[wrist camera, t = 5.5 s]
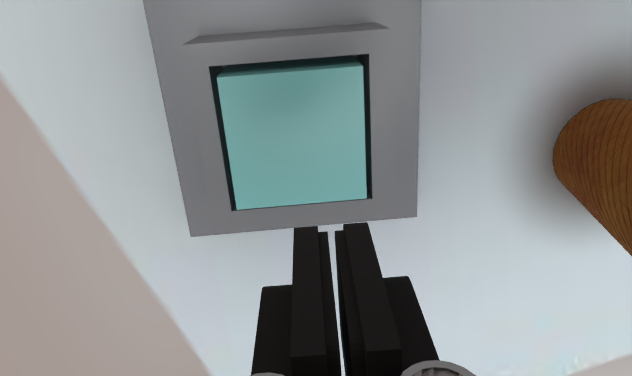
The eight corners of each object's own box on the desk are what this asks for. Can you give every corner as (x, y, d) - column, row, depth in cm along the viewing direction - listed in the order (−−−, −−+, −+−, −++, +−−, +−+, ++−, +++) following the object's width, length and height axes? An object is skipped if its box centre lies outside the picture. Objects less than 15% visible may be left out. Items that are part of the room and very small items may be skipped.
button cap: (351, 54, 24) (363, 65, 20) (355, 169, 26) (366, 198, 23) (227, 64, 24) (216, 77, 20) (243, 179, 26) (236, 209, 23)
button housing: (415, -31, 24) (447, -36, 20) (411, 208, 30) (435, 250, 25) (147, -11, 24) (112, -11, 19) (194, 227, 29) (176, 273, 25)
